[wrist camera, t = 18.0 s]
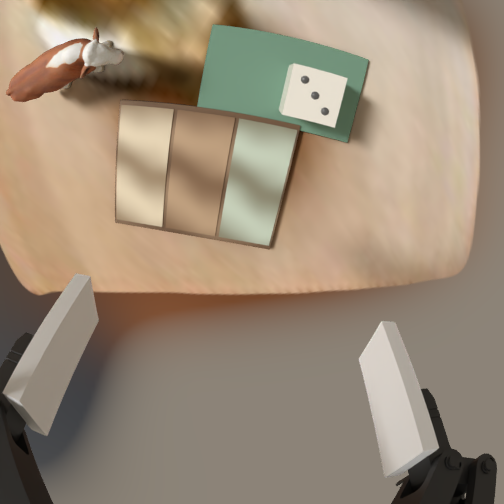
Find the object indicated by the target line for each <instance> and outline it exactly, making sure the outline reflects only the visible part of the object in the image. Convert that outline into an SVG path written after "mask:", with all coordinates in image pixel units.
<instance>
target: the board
mask: <svg viewBox="0 0 504 504" xmlns="http://www.w3.org/2000/svg"><path fill="white" fill-rule="evenodd" d="M299 130H300V125H296V124H292V123H287V122H283V121H278V120H273V119H268V118H263V117H258V116H253V115H247V114H242V113H236V112H230V111H224V110H217V109H210V108H203V107H197V106H190V105H182V104H173V103H162V102H151V101H137V100H120V110H119V121H118V134H117V150H116V175H115V223H121V224H127V225H133V226H139V227H144V228H150V229H156V230H162V231H168V232H173V233H179V234H185V235H191V236H196V237H202V238H208V239H214V240H219V241H225V242H231V243H236V244H242V245H248V246H253V247H259V248H265V249H270V246H271V242H272V238H273V234H274V230H275V226H276V222H277V218H278V215H279V211H280V207H281V203H282V199H283V195H284V191H285V187H286V183H287V179H288V175H289V171H290V167H291V163H292V159H293V154H294V150H295V146H296V142H297V138H298V134H299Z"/></svg>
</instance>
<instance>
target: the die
mask: <svg viewBox="0 0 504 504" xmlns="http://www.w3.org/2000/svg"><path fill="white" fill-rule="evenodd" d="M347 79H348V78H345V77H342V76H339V75H336V74H332V73H329V72H325V71H322V70H318V69H315V68H311V67H307V66H303V65H299V64H295V63H294V64H291V65H289V67H288V71H287V76H286V80H285V84H284V89H283V93H282V98H281V102H280V106H279V111H280V112H281V114H282V115H286V116H290V117H295V118H299V119H303V120H307V121H311V122H315V123H319V124H323V125H326V126H330V127H334V128H335V125H336V121H337V117H338V114H339V110H340V106H341V102H342V98H343V94H344V91H345V87H346V83H347Z"/></svg>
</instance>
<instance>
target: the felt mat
mask: <svg viewBox="0 0 504 504" xmlns="http://www.w3.org/2000/svg"><path fill="white" fill-rule="evenodd" d="M368 61H369V60H368V59H365V58H362V57H359V56H356V55H353V54H350V53H347V52H344V51H341V50H338V49H334V48H331V47H328V46H324V45H320V44H317V43H313V42H309V41H305V40H301V39H297V38H292V37H288V36H283V35H279V34H274V33H269V32H263V31H258V30H252V29H245V28H239V27H231V26H223V25H214V24H213V26H212V31H211V35H210V40H209V45H208V50H207V55H206V60H205V65H204V71H203V76H202V82H201V87H200V93H199V99H198V105H197V107H203V108H210V109H217V110H224V111H230V112H236V113H242V114H247V115H253V116H258V117H263V118H268V119H273V120H278V121H283V122H287V123H292V124H296V125H300V131H304V132H308V133H313V134H317V135H321V136H324V137H328V138H332V139H336V140H339V141H343V142H348V138H349V135H350V131H351V127H352V124H353V120H354V116H355V113H356V109H357V105H358V101H359V97H360V93H361V89H362V85H363V81H364V77H365V73H366V69H367V65H368ZM294 63H295V64H299V65H303V66H307V67H311V68H315V69H318V70H322V71H325V72H329V73H332V74H336V75H339V76H342V77H345V78H348V79H347V83H346V87H345V91H344V94H343V98H342V102H341V106H340V110H339V114H338V117H337V121H336V125H335V128H334V127H330V126H326V125H323V124H319V123H315V122H311V121H307V120H303V119H299V118H295V117H290V116H286V115H282V114H281V112H280V111H279V106H280V102H281V98H282V93H283V89H284V84H285V80H286V76H287V71H288V67H289V65H291V64H294Z"/></svg>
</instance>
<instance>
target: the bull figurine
mask: <svg viewBox="0 0 504 504" xmlns="http://www.w3.org/2000/svg"><path fill="white" fill-rule="evenodd" d="M111 47H112V41H106V42H104V43H99V32H98V29H97V27H96V28H95V30H94V34H93V40H92V41H91V40H89V39H74V40H71V41H68V42H66V43H64V44H61V45H58V46H56V47H54V48H52V49H50V50H48V51H46V52H45V53H43V54H42V55H40V56H39V57H38V58H37V59H36V60H34V61H33V62H32V63H31V64H29V65H27V66H26V67H24V68H23V69H21V70H20V71H19V72H18V73H17V74H16V75H15V76H14V77H13V78H12V79H11V81H10V84H9V89H8V90H7V91H6V94H7V95H8V96H11V98H12V99H13V100H14V101H19V102H26V101H29V100H32V99H36V98H39V97H40V96H42V95H43V94H44V93H48V92H53V91H57V90H59V89H62V88H69V87H70V86H71V82H72V81H73V80H75V79H77V78H80V79H82V78H83V77H84V76H85V75H86V74H89V73H91V72H93V73H94V72H103V71H104V68H105V66H104V65H107V64H114V65H118V64H120V63H121V61H122V59H123V56H124V53H123V51H121V50H118V49H113V48H111Z"/></svg>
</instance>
